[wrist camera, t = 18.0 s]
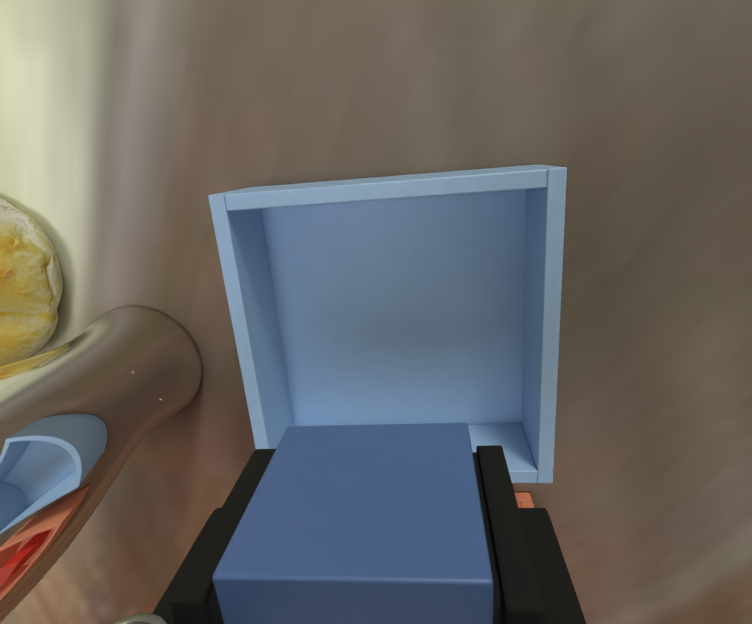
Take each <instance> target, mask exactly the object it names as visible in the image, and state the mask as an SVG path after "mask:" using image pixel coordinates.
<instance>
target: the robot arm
mask: <svg viewBox="0 0 752 624" xmlns="http://www.w3.org/2000/svg"><path fill="white" fill-rule="evenodd" d="M275 450H276V449H256V450H255V451H254V453H253V454H252V456H251V458H250V460H249V461H248V463H247V465H246V466H245V468H244V470H243V472H242V473H241V475H240V477H239V479H238V480H237V482H236V484H235V486H234V487H233V489H232V491H231V493H230V494H229V496H228V498H227V500H226V501H225V503H224V505H223V507H222V508H217V509H216V510H214V512H213V513H212V514H211V515H210V517H209V519H208V521H207V522H206V524H205V526H204V527H203V529H202V531H201V532H200V534H199V536H198V537H197V539H196V541H195V542H194V544H193V546H192V548H191V549H190V551H189V553H188V554H187V556H186V558H185V559H184V561H183V563H182V564H181V566H180V568H179V569H178V571H177V573H176V575H175V576H174V578H173V580H172V581H171V583H170V585H169V586H168V588H167V590H166V591H165V593H164V595H163V597H162V598H161V600H160V602H159V603H158V605H157V607H156V608H155V610H154V612H153V613H139V614H135V615H131V616H128V617H125V618H123V619H121V620H119V621H117V622H115V623H113V624H223V620H222V616H221V612H220V608H219V604H218V600H217V596H216V592H215V588H214V584H213V580H212V579H213V574H214V572H215V570H216V568H217V566H218V564H219V562H220V560H221V558H222V556H223V554H224V552H225V550H226V548H227V546H228V544H229V542H230V540H231V538H232V536H233V534H234V532H235V530H236V528H237V526H238V524H239V522H240V520H241V518H242V516H243V514H244V512H245V510H246V508H247V506H248V504H249V502H250V500H251V498H252V496H253V494H254V492H255V490H256V488H257V486H258V484H259V482H260V480H261V478H262V476H263V474H264V472H265V470H266V468H267V466H268V464H269V462H270V460H271V458H272V456H273V454H274V452H275ZM473 459H474V465H475V471H476V477H477V484H478V490H479V496H480V502H481V508H482V515H483V521H484V527H485V533H486V539H487V546H488V552H489V558H490V564H491V571H492V577H493V598H494V615H493V624H586V622H585V619H584V616H583V613H582V610H581V607H580V604H579V601H578V598H577V596H576V593H575V590H574V587H573V584H572V581H571V578H570V575H569V572H568V569H567V566H566V564H565V561H564V558H563V555H562V552H561V549H560V546H559V543H558V540H557V537H556V534H555V531H554V529H553V526H552V523H551V520H550V517H549V514H548V512H547V510H546V509H545V508H518V504H517V501H516V497H515V493H514V489H513V485H512V482H511V478H510V474H509V470H508V466H507V463H506V459H505V455H504V451H503V448H502V446H501V445H489V446H477V447H476V452H473Z"/></svg>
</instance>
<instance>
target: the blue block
mask: <svg viewBox="0 0 752 624" xmlns="http://www.w3.org/2000/svg"><path fill="white" fill-rule="evenodd" d="M212 580H213V584H214V588H215V592H216V596H217V600H218V604H219V608H220V612H221V616H222V620H223V624H493V615H494V598H493V577H492V571H491V564H490V558H489V552H488V546H487V539H486V533H485V527H484V521H483V515H482V508H481V502H480V496H479V490H478V484H477V477H476V471H475V465H474V459H473V452H472V446H471V440H470V434H469V428H468V424H467V423H425V424H377V425H329V426H289V427H287V429H286V431H285V432H284V434H283V436H282V438H281V440H280V442H279V444H278V446H277V448H276V450H275V452H274V454H273V456H272V458H271V460H270V462H269V464H268V466H267V468H266V470H265V472H264V474H263V476H262V478H261V480H260V482H259V484H258V486H257V488H256V490H255V492H254V494H253V496H252V498H251V500H250V502H249V504H248V506H247V508H246V510H245V512H244V514H243V516H242V518H241V520H240V522H239V524H238V526H237V528H236V530H235V532H234V534H233V536H232V538H231V540H230V542H229V544H228V546H227V548H226V550H225V552H224V554H223V556H222V558H221V560H220V562H219V564H218V566H217V568H216V570H215V572H214V574H213V579H212Z"/></svg>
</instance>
